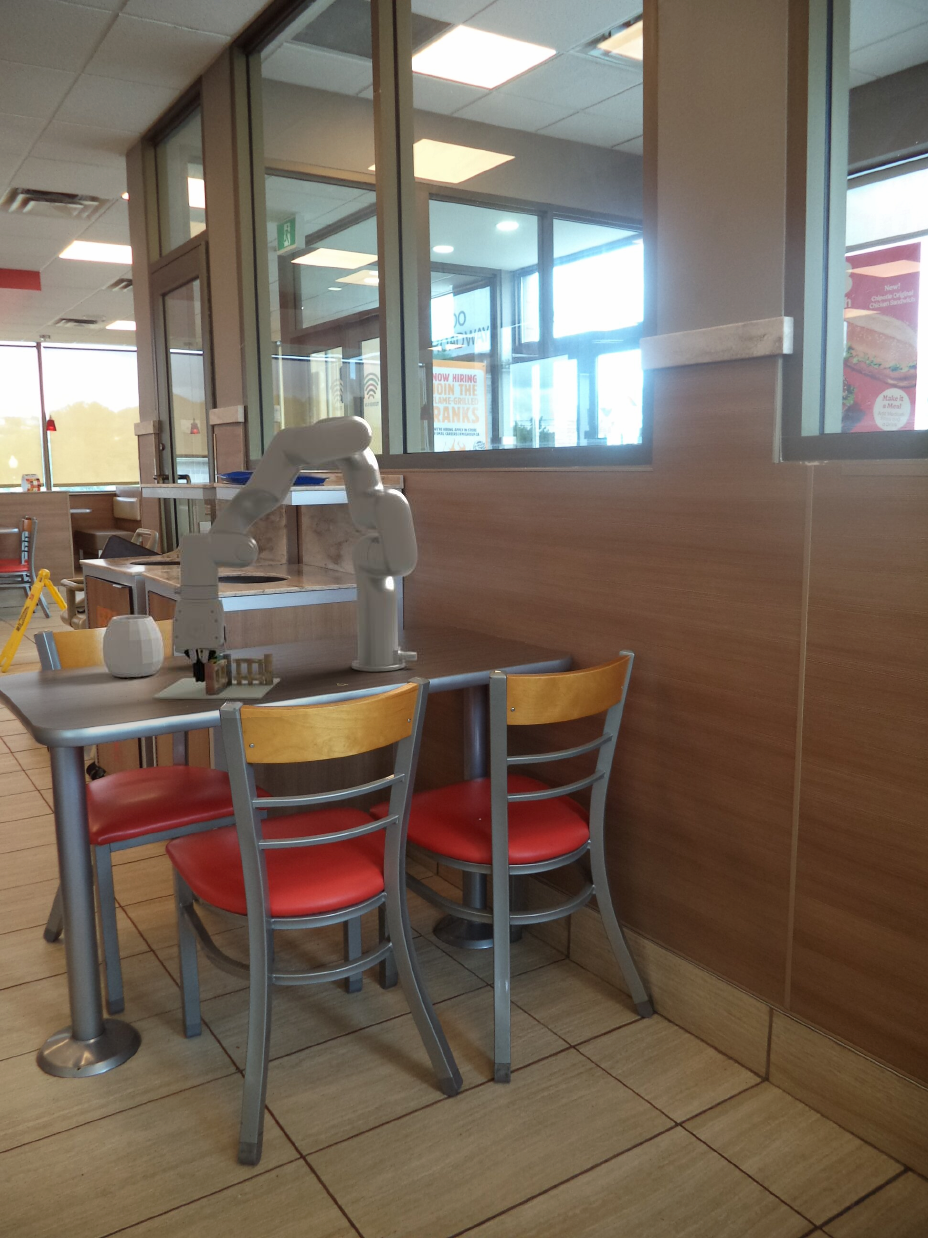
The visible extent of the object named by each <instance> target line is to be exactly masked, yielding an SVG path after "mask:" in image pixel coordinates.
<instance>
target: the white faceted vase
mask: <svg viewBox="0 0 928 1238" xmlns="http://www.w3.org/2000/svg"><path fill="white" fill-rule="evenodd" d="M162 636H163V635H162V633H161V631H160V629H159V626H158V625H157V623H156V622H155V620H154V618H153V617H152V616H151V615H147V614H127V615H118V616H114V617H111V619H110V620H109V622H108V625H107V626H106V628H105V631H104V634H103V639H102V657H103V658H102V659H103V662H104V664H105V667H106V669H107V670H108V672H109V673H111V675H113V676H115V677H118V678H125V677H136V678H142V677H141V676H143V677H147V676H150V675H154V674H155V673H157V672H158V671H159V670H160V668H161V666H162V664H163V661H164V658H165V657H164V644H163V638H162Z"/></svg>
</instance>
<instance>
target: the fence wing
mask: <svg viewBox="0 0 928 1238" xmlns="http://www.w3.org/2000/svg"><path fill="white" fill-rule="evenodd" d="M204 664H205V688H206V694H214V693H215V691H216V688H221V685H227V682H228V681H227V677H226V664H227V660H225V659H223V660H221V661H219V662H217V663H215V664H214V663H213V662H205V663H204Z"/></svg>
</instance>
